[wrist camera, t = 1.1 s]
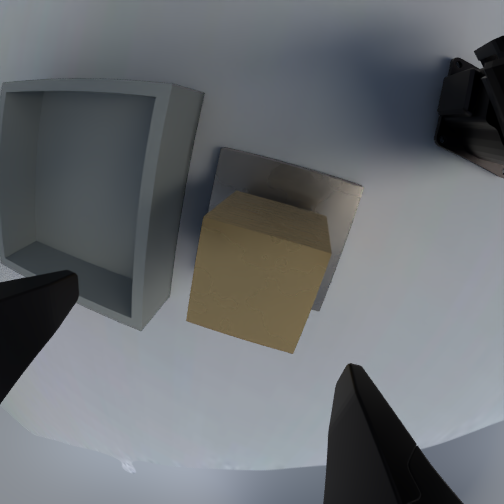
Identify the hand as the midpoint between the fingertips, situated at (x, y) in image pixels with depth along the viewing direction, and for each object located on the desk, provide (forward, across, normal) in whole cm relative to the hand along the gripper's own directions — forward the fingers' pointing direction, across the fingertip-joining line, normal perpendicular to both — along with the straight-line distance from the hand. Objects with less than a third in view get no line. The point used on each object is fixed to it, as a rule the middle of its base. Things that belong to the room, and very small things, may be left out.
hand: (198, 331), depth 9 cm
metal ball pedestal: (+13, -1, +1) cm, 13 cm away
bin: (+13, +14, +1) cm, 19 cm away
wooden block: (+10, -1, +1) cm, 10 cm away
